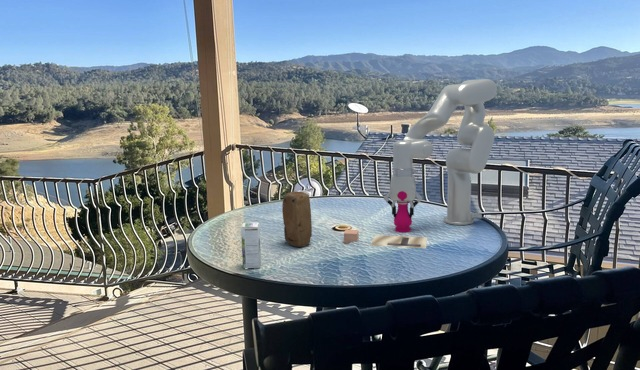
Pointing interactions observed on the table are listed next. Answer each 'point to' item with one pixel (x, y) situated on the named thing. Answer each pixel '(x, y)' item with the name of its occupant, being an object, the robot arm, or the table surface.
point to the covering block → (350, 236)
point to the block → (297, 218)
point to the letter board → (399, 241)
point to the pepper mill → (402, 214)
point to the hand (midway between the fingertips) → (402, 216)
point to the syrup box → (251, 245)
